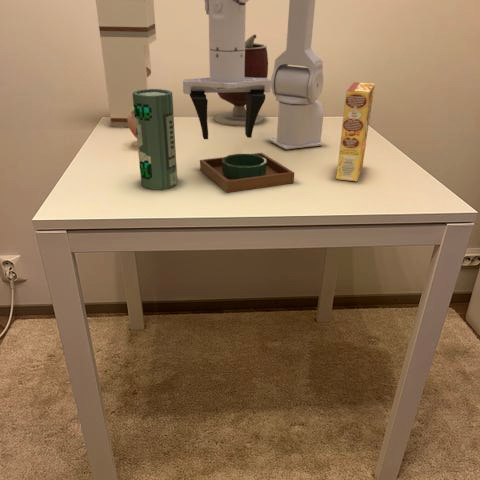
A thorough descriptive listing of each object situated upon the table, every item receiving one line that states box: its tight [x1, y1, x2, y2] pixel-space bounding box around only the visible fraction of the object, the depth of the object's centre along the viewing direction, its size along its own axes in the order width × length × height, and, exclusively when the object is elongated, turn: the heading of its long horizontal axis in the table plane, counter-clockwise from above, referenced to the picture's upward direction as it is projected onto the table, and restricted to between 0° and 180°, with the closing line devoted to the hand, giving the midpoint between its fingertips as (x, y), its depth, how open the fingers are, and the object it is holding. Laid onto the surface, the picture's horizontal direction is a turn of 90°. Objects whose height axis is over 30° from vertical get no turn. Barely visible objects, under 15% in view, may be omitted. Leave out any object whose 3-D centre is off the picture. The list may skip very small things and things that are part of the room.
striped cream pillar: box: [95, 0, 157, 128], centre depth 115 cm, size 11×11×35 cm
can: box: [132, 88, 178, 191], centre depth 84 cm, size 6×6×15 cm
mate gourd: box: [215, 34, 269, 127], centre depth 122 cm, size 16×14×20 cm
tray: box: [199, 152, 295, 193], centre depth 92 cm, size 13×13×2 cm
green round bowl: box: [222, 153, 267, 180], centre depth 91 cm, size 8×8×2 cm
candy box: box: [335, 81, 376, 182], centre depth 90 cm, size 9×4×15 cm, turn 162°
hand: (227, 137), depth 87 cm, fingers open, 7 cm apart
